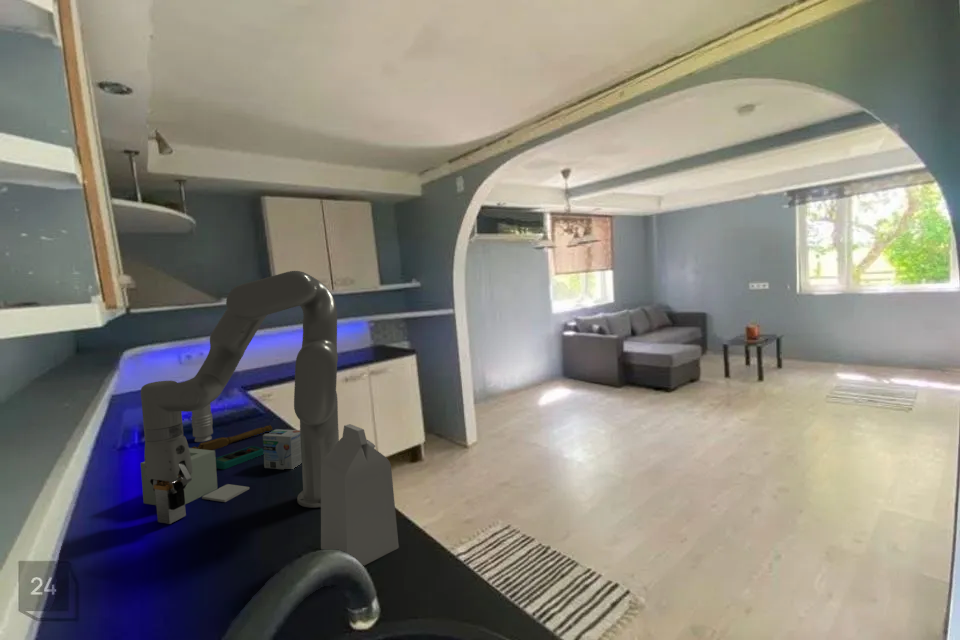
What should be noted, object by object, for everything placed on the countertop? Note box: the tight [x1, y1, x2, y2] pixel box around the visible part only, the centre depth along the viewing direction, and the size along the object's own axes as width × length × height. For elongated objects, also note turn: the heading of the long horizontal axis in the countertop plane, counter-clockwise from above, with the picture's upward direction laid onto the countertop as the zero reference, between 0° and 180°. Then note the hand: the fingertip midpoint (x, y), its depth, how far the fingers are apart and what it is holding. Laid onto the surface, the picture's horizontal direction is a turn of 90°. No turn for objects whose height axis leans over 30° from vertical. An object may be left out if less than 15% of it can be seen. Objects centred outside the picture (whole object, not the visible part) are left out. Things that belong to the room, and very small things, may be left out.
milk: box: [320, 424, 400, 566], centre depth 90 cm, size 12×12×26 cm
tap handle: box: [191, 424, 273, 451], centre depth 163 cm, size 3×3×30 cm
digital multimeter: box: [216, 445, 264, 470], centre depth 144 cm, size 7×15×3 cm, turn 151°
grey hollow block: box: [140, 447, 219, 506], centre depth 119 cm, size 12×12×11 cm
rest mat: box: [201, 483, 250, 503], centre depth 119 cm, size 8×8×1 cm
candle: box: [190, 403, 214, 443], centre depth 168 cm, size 7×7×15 cm
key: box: [154, 481, 187, 525], centre depth 105 cm, size 4×4×9 cm
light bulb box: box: [262, 428, 302, 470], centre depth 138 cm, size 11×7×11 cm, turn 76°
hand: (170, 505), depth 105 cm, fingers closed on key, 4 cm apart
